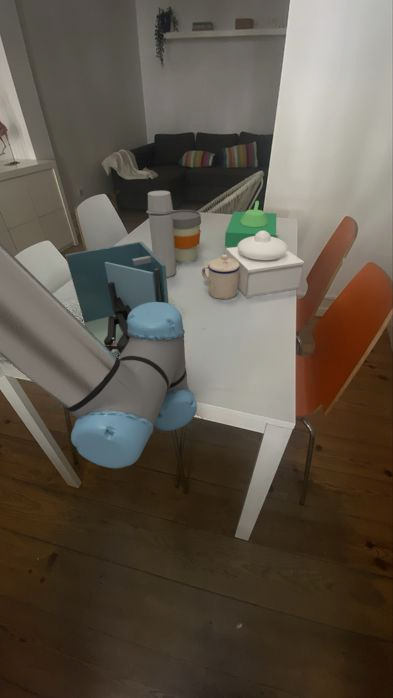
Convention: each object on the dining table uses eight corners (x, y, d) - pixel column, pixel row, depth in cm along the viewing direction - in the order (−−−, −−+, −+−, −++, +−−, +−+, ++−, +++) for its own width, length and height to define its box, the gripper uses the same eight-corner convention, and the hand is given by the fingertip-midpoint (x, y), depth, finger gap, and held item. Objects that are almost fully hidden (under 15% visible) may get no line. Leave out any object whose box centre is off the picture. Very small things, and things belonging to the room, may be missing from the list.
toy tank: (277, 199, 135) (277, 224, 108) (273, 228, 143) (272, 258, 116) (236, 197, 138) (226, 221, 111) (234, 226, 146) (224, 255, 119)
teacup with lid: (243, 290, 97) (246, 253, 89) (228, 303, 91) (230, 264, 84) (210, 281, 102) (210, 245, 95) (194, 292, 96) (193, 255, 89)
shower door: (113, 324, 81) (100, 264, 71) (117, 320, 82) (106, 261, 72) (155, 337, 76) (148, 275, 66) (160, 333, 77) (153, 272, 67)
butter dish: (271, 266, 110) (278, 218, 100) (299, 289, 96) (309, 237, 87) (224, 273, 106) (226, 224, 96) (245, 298, 93) (250, 244, 83)
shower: (97, 359, 72) (76, 283, 60) (84, 324, 83) (65, 254, 71) (171, 338, 78) (165, 264, 66) (150, 308, 89) (141, 241, 77)
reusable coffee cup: (201, 263, 113) (201, 219, 104) (166, 263, 114) (163, 220, 104) (201, 250, 123) (201, 209, 114) (169, 250, 124) (166, 209, 114)
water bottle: (181, 275, 106) (176, 193, 90) (160, 281, 103) (152, 197, 87) (168, 265, 112) (162, 188, 97) (147, 271, 109) (138, 191, 93)
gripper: (116, 384, 59) (94, 322, 76) (180, 364, 63) (145, 309, 80) (108, 353, 55) (86, 294, 72) (178, 333, 59) (141, 282, 76)
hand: (117, 302), depth 76 cm, fingers closed
